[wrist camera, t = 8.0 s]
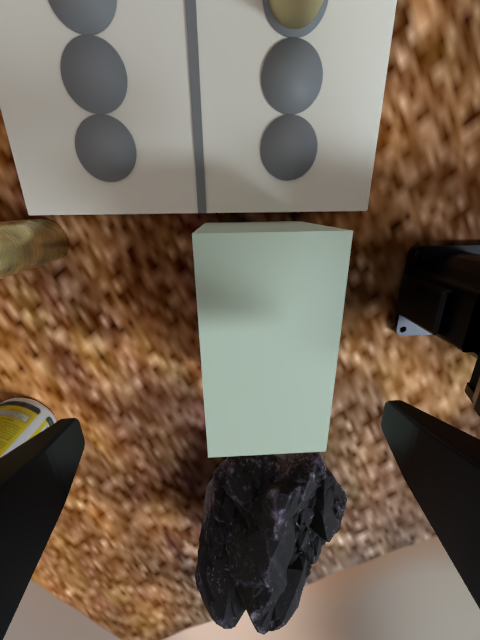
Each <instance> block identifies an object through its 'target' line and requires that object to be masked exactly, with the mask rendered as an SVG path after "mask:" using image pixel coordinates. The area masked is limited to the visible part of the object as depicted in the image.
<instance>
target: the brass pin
mask: <svg viewBox="0 0 480 640" xmlns="http://www.w3.org/2000/svg"><path fill="white" fill-rule="evenodd" d="M68 246H69V242H68V238H67V235H66V233H65V231H64V230H63V229H62V228H61V226H59V225H58V224H57V223H55V222H54V221H52V220H49V219H44V218H39V219H27V220H14V221H2V222H0V279H2V278H5V277H8V276H11V275H14V274H17V273H20V272H23V271H26V270H29V269H31V268H34V267H37V266H40V265H43V264H46V263H49V262H52V261H55V260H58V259H60V258H62V257H63V256H64V255H65V254H66V253H67V251H68Z"/></svg>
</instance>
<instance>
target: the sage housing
mask: <svg viewBox="0 0 480 640" xmlns="http://www.w3.org/2000/svg"><path fill="white" fill-rule="evenodd" d="M352 237H353V230H347V229H342V228H336V227H330V226H325V225H319V224H313V223H308V222H302V221H265V222H208V223H204V224H203V225H202V226H201V227H199V228H198V229H197V230H196V231H195V232H193V233H192V243H193V257H194V270H195V284H196V298H197V312H198V325H199V339H200V353H201V367H202V380H203V394H204V408H205V422H206V435H207V449H208V458H211V457H230V456H249V455H268V454H287V453H305V452H324V451H326V447H327V439H328V431H329V423H330V415H331V407H332V399H333V391H334V382H335V374H336V366H337V358H338V350H339V342H340V334H341V326H342V318H343V310H344V301H345V293H346V285H347V277H348V269H349V261H350V253H351V245H352Z"/></svg>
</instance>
